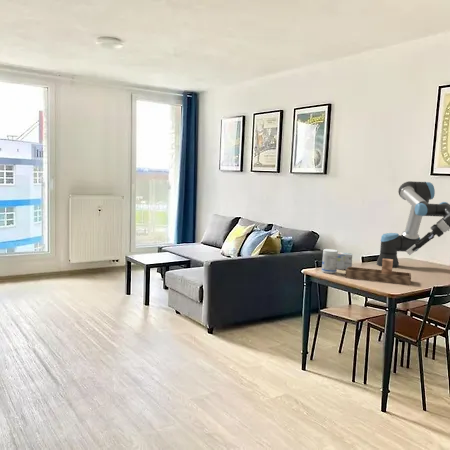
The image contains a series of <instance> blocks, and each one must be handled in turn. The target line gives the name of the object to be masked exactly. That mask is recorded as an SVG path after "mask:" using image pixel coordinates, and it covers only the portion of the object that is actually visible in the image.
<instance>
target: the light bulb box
mask: <svg viewBox="0 0 450 450" xmlns="http://www.w3.org/2000/svg"><path fill="white" fill-rule="evenodd" d="M348 267H353V253H351V252H338V259H337V270H344V269H345V270H344V271H346V269H347V268H348Z"/></svg>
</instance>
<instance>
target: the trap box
mask: <svg viewBox="0 0 450 450" xmlns="http://www.w3.org/2000/svg"><path fill="white" fill-rule="evenodd" d="M345 278H346V279H353V280H354V279H355V280H364V281H372V282H380V283H381V282H382V283H388V284H389V283H390V284H399V285H406V286H407V285H408V286H411V283H412V282H411V281H412V273H411V272H403V271H395V270H392V274H383V273H382V269H375V268H366V267H357V266H352V267H348V268H347V269H346V270H345Z"/></svg>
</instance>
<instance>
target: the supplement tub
mask: <svg viewBox="0 0 450 450" xmlns="http://www.w3.org/2000/svg"><path fill="white" fill-rule="evenodd" d="M338 253H339V251H338V250H337V249H331V248H325V249H323V250H322V259H321V260H322V261H321V262H322V263H321V272H322V273H325V274H332V275H333V274H336V273H337V270H338V269H337V259H338Z"/></svg>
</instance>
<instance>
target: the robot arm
mask: <svg viewBox="0 0 450 450" xmlns="http://www.w3.org/2000/svg"><path fill="white" fill-rule="evenodd" d="M397 192H398V195H399V197H400V198H401V199H402V200H404V201H407V203H409V204H410V205H411V207H410V210H409V213H408V214H409V215H408V217H407V222H406V227H405V229H404V230H403V231H402V233H401V235H399V233H397V232H389V233H387V232H386V233H383V234H382V235H381V238H380V247H379V248H380V249H379V250H380V251H379V256H378V258H377V260H376V265H377V266H379V267H382V261H383V258H384V259H393V266H392V268H397V267H399V264H400V263H399V259H398V252H403V253H404V252H406V253H407V255H409V256H412V255H413V253H415V252H418V251H419V249H421V248H422V247H424V246H425V245H426V244H427V243H428V242H430V241H431V240H433V239H434V238H435V236H437V237H438V238H441V236H442V235H444V233H447V232H450V203H448V202H447V201H442V202H439V203H430V200H433V199H434V198H435V194H436V191H435V187H434V184H433V183H431V182H429V181H411V180H410V181H406V182H403V183H402V184H401V185H400V186H399V188H398V191H397ZM423 217H440V219H439V220H437V222H436V223H434V224H432V226H430V230H431V231H429V232H427V233H426V234H425V235H424V236H423V237H422V238H421V237H420V235H419V230H420V226H421V223H422V218H423ZM441 217H442V218H441Z"/></svg>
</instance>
